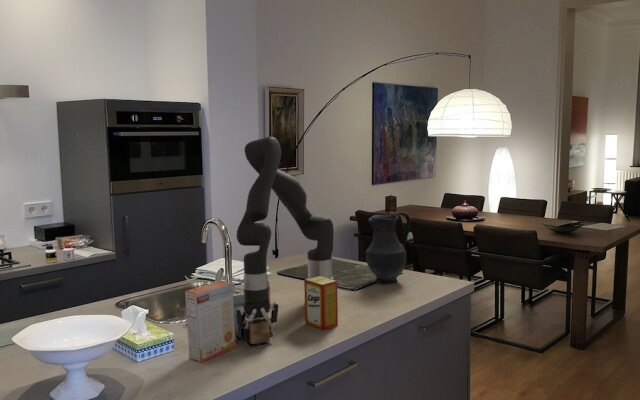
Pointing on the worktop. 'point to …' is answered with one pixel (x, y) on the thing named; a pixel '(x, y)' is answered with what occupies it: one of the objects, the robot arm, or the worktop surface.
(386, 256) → the pitcher
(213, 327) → the cracker box
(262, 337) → the brown wooden cube
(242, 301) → the cover
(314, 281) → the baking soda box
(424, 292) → the worktop surface
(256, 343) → the pin post
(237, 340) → the rails
